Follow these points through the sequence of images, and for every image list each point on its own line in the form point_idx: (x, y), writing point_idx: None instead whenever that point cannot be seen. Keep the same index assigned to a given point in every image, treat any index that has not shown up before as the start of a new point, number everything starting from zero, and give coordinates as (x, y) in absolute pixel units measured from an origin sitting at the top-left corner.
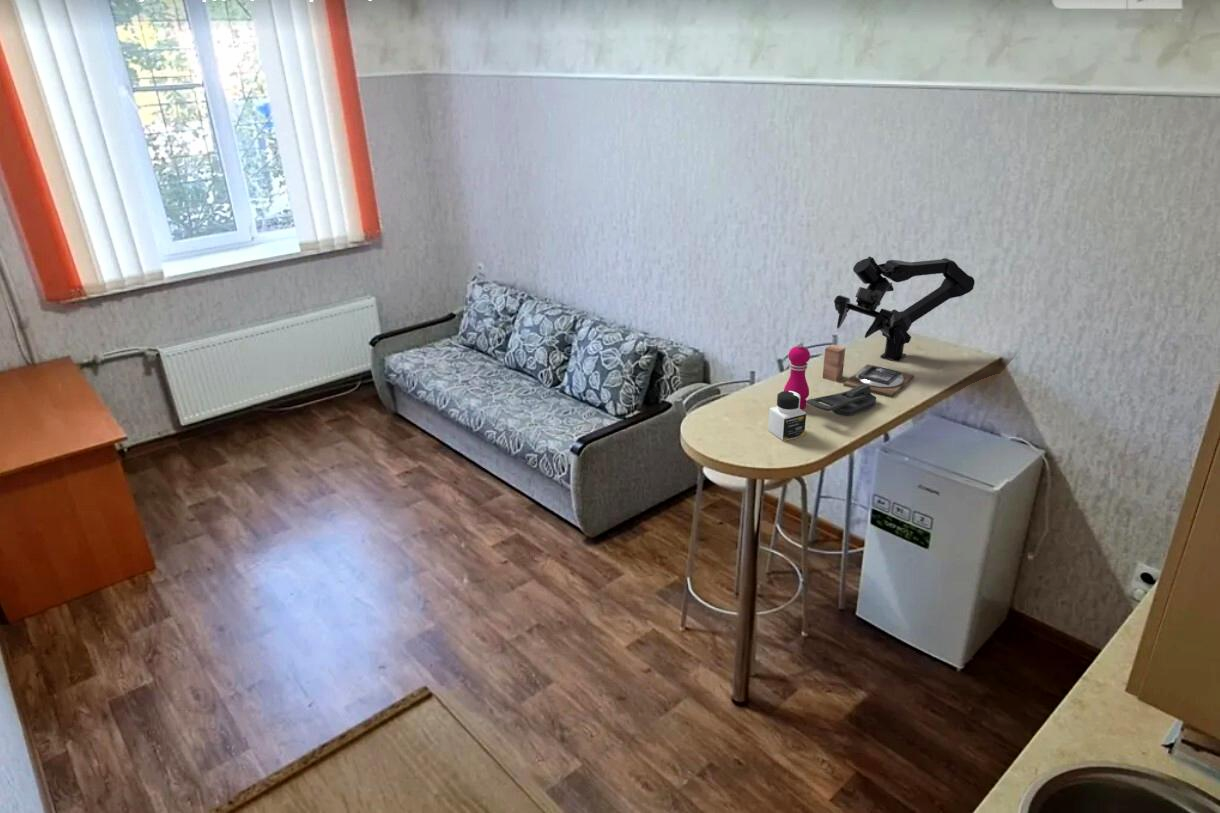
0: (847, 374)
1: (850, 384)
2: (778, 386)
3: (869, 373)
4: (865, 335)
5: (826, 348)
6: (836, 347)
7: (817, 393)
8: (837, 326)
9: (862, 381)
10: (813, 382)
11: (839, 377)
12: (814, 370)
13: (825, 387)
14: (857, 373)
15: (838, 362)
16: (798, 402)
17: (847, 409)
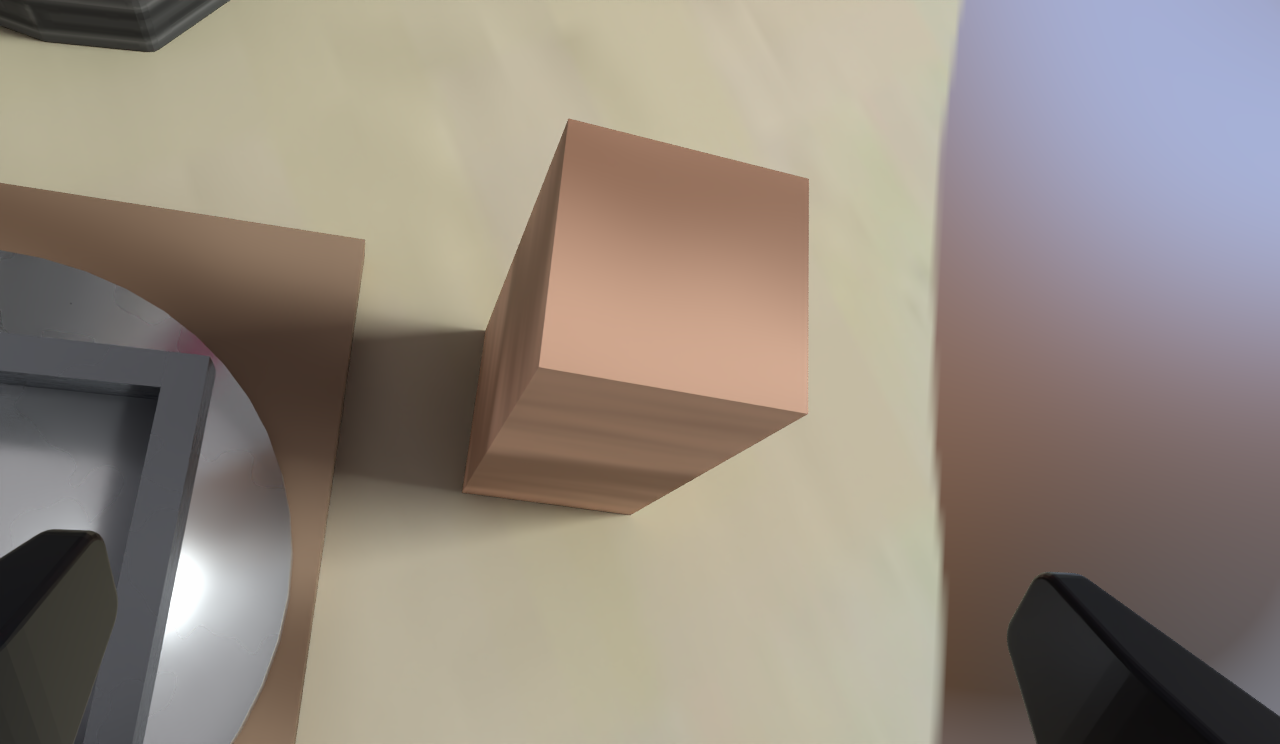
0: (432, 604)
1: (276, 226)
2: (862, 40)
3: None
4: (63, 543)
5: (794, 188)
6: (680, 294)
7: (534, 9)
8: (1069, 576)
9: (129, 292)
10: None
11: (475, 408)
12: (796, 514)
13: (522, 153)
14: (269, 516)
15: (523, 252)
16: None
17: None
